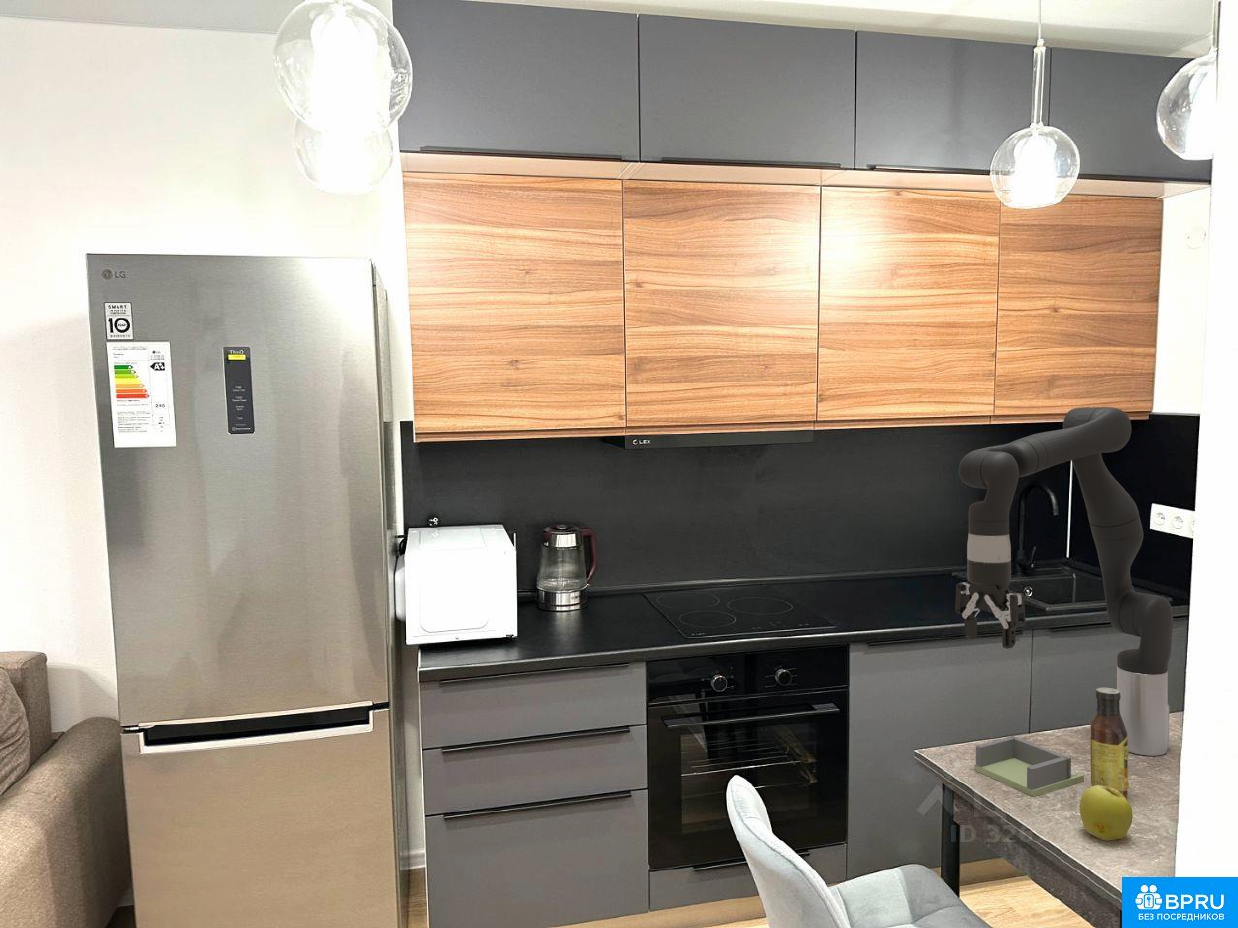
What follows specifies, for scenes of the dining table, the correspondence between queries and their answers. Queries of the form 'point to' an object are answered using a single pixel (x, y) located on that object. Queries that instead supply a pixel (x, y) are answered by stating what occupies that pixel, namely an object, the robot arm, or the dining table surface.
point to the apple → (1105, 812)
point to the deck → (1025, 766)
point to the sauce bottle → (1109, 743)
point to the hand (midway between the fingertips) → (989, 642)
